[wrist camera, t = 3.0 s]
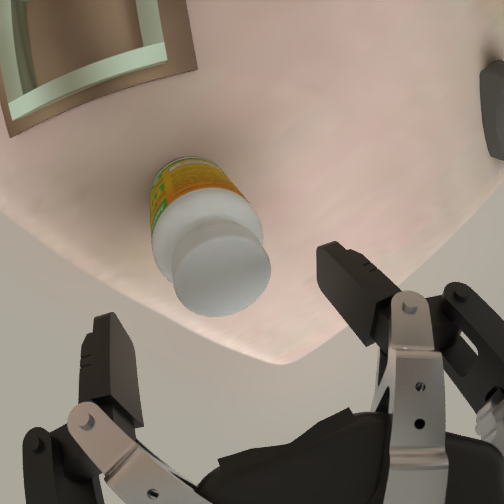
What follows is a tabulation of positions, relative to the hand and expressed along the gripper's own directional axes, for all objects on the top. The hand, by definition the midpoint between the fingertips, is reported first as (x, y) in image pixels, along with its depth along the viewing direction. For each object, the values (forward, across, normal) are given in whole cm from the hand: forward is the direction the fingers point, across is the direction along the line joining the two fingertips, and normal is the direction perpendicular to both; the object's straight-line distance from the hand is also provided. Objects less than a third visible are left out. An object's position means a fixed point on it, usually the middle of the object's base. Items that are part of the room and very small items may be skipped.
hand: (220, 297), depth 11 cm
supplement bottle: (+11, 0, 0) cm, 11 cm away
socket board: (+10, +4, -18) cm, 21 cm away
